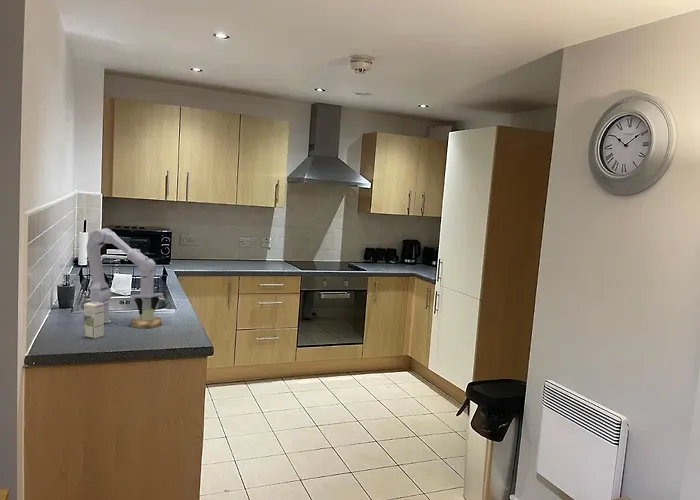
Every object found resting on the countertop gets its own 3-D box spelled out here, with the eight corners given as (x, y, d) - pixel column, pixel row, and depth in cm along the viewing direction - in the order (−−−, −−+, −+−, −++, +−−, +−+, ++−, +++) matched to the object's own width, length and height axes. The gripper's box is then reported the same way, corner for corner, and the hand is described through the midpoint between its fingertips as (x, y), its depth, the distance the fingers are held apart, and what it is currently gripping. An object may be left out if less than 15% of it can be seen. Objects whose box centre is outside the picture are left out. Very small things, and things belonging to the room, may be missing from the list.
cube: (142, 320, 249) (142, 310, 248) (139, 318, 253) (139, 308, 252) (153, 320, 252) (153, 309, 252) (150, 317, 256) (150, 307, 255)
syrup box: (104, 335, 232) (104, 302, 230) (93, 338, 226) (93, 305, 224) (93, 333, 233) (94, 301, 232) (83, 337, 228) (83, 303, 226)
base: (136, 329, 244) (136, 324, 244) (128, 322, 254) (128, 317, 254) (164, 326, 252) (164, 321, 251) (155, 320, 262) (156, 315, 262)
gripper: (133, 287, 243) (132, 316, 245) (165, 285, 252) (164, 313, 254) (129, 284, 249) (128, 313, 250) (160, 283, 258) (159, 310, 259)
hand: (146, 313), depth 252 cm, fingers closed on cube, 5 cm apart
